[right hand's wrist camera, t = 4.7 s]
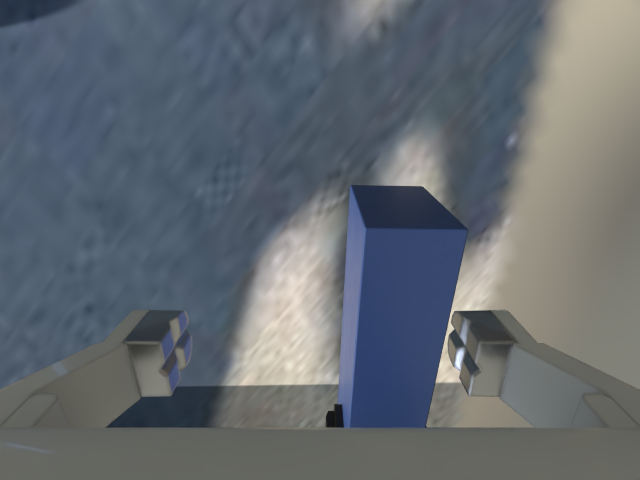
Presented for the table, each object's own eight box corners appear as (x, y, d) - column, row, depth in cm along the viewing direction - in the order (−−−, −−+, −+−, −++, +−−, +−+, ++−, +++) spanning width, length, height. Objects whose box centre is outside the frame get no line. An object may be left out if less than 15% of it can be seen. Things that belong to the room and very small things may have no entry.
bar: (350, 184, 24) (364, 227, 17) (423, 186, 24) (469, 229, 17) (337, 411, 33) (342, 502, 26) (389, 411, 33) (409, 502, 26)
